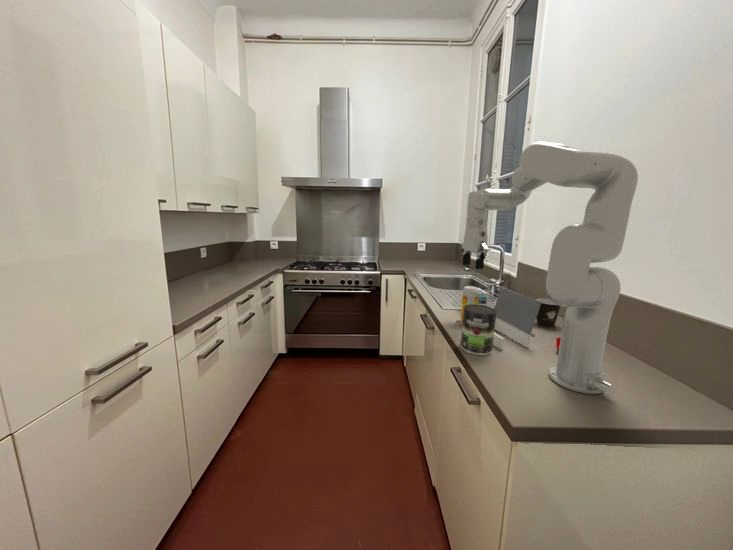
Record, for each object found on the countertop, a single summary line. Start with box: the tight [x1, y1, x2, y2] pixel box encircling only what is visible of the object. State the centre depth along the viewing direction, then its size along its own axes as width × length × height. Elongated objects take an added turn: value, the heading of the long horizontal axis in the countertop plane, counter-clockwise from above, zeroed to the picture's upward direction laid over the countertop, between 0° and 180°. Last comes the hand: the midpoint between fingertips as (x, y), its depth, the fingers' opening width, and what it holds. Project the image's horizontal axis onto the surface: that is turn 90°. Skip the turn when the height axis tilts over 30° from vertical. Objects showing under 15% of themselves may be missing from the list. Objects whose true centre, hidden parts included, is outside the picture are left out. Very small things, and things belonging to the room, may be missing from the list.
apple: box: [555, 336, 561, 351], centre depth 97 cm, size 7×7×8 cm
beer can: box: [460, 285, 479, 322], centre depth 122 cm, size 6×6×15 cm
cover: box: [493, 287, 542, 336], centre depth 109 cm, size 20×12×1 cm
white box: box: [493, 318, 536, 351], centre depth 109 cm, size 23×12×5 cm, turn 13°
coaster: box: [456, 318, 463, 326], centre depth 124 cm, size 9×9×1 cm
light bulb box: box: [477, 287, 489, 306], centre depth 136 cm, size 11×7×11 cm, turn 179°
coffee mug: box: [536, 298, 561, 328], centre depth 123 cm, size 12×9×10 cm
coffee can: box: [459, 304, 497, 356], centre depth 98 cm, size 10×10×14 cm
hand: (472, 266), depth 119 cm, fingers open, 8 cm apart
